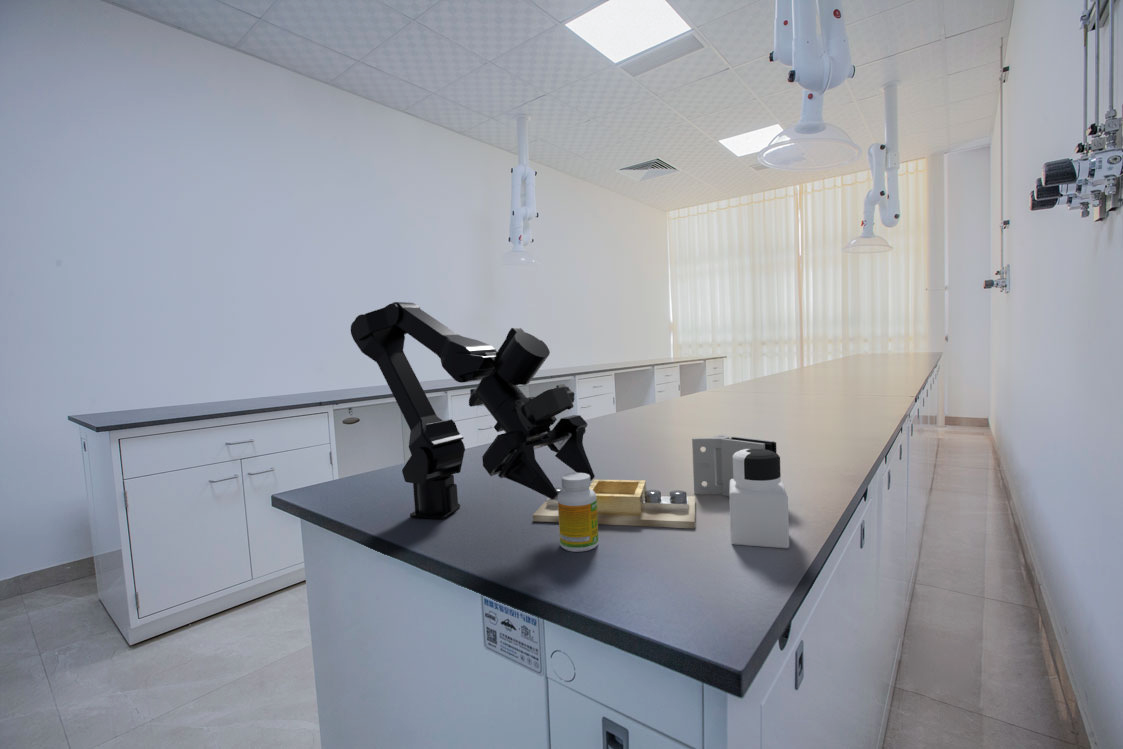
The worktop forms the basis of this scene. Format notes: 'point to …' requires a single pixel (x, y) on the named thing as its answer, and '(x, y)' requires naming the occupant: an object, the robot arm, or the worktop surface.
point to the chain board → (632, 517)
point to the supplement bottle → (577, 513)
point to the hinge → (720, 461)
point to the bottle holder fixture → (630, 498)
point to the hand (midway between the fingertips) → (575, 487)
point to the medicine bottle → (758, 500)
